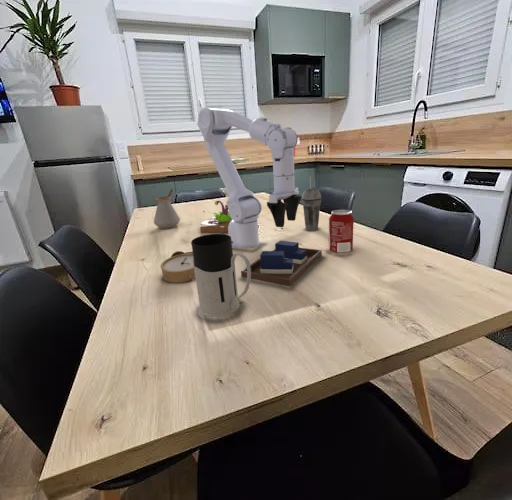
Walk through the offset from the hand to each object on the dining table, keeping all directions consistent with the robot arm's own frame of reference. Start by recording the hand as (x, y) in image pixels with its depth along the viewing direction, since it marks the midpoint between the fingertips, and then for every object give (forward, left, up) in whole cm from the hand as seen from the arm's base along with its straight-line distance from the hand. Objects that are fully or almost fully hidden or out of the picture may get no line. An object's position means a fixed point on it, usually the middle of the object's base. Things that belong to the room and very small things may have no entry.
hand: (285, 223), depth 86 cm
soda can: (+14, +7, -10) cm, 18 cm away
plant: (-39, +21, -10) cm, 45 cm away
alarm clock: (-20, -22, -10) cm, 31 cm away
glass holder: (+4, -35, -10) cm, 37 cm away
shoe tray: (+4, -10, -9) cm, 14 cm away
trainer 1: (+4, -14, -9) cm, 17 cm away
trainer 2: (+4, -6, -9) cm, 11 cm away
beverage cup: (-3, +28, -10) cm, 30 cm away
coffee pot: (-68, +18, -10) cm, 71 cm away
